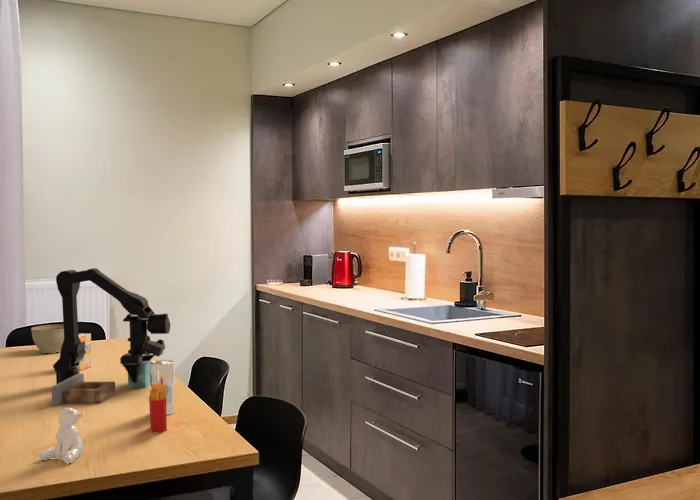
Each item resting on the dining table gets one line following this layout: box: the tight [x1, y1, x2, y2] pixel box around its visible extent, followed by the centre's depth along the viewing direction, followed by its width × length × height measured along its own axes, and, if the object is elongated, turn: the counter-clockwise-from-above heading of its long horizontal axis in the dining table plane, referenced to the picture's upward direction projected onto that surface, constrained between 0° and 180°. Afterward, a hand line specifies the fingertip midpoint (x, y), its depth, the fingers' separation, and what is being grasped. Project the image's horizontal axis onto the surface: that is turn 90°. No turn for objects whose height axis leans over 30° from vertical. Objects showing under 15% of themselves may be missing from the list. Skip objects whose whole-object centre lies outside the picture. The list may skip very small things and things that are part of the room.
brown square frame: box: [63, 381, 116, 404], centre depth 224 cm, size 12×12×4 cm
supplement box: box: [76, 333, 93, 372], centre depth 269 cm, size 8×5×13 cm, turn 168°
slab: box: [51, 373, 85, 407], centre depth 224 cm, size 2×18×6 cm, turn 177°
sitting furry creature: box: [38, 406, 84, 464], centre depth 169 cm, size 10×9×12 cm
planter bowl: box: [30, 324, 64, 354], centre depth 305 cm, size 16×16×11 cm
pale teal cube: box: [127, 360, 152, 389], centre depth 240 cm, size 6×6×8 cm
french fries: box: [148, 384, 168, 433], centre depth 190 cm, size 8×4×12 cm, turn 23°
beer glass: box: [150, 359, 176, 416], centre depth 206 cm, size 7×7×15 cm
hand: (139, 379), depth 240 cm, fingers open, 9 cm apart
